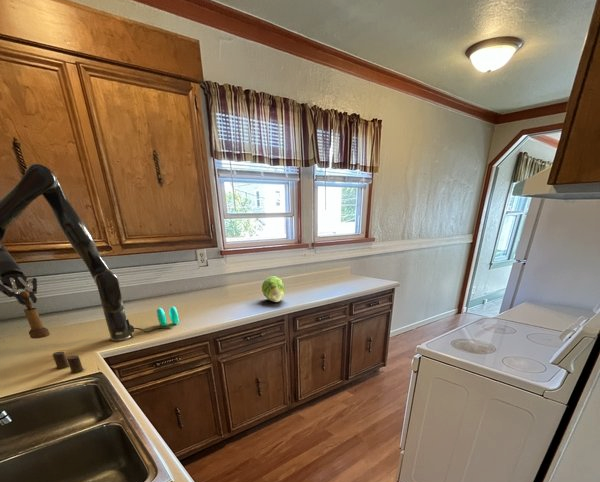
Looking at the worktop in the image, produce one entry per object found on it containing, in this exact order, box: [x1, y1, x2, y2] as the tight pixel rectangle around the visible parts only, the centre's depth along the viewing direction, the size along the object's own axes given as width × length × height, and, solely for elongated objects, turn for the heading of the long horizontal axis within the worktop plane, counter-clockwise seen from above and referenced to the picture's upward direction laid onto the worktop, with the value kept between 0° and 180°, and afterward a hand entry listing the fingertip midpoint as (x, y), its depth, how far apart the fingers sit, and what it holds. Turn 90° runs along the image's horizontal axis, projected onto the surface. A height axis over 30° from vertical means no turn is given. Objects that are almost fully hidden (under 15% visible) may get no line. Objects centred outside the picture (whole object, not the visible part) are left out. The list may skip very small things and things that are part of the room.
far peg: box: [66, 354, 84, 374], centre depth 129 cm, size 4×4×6 cm
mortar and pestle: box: [19, 290, 51, 340], centre depth 129 cm, size 7×6×18 cm
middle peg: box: [52, 351, 70, 370], centre depth 133 cm, size 4×4×6 cm
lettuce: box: [261, 275, 286, 303], centre depth 236 cm, size 17×23×16 cm
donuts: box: [156, 306, 180, 327], centre depth 185 cm, size 10×10×10 cm
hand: (29, 302), depth 126 cm, fingers closed on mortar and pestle, 3 cm apart
